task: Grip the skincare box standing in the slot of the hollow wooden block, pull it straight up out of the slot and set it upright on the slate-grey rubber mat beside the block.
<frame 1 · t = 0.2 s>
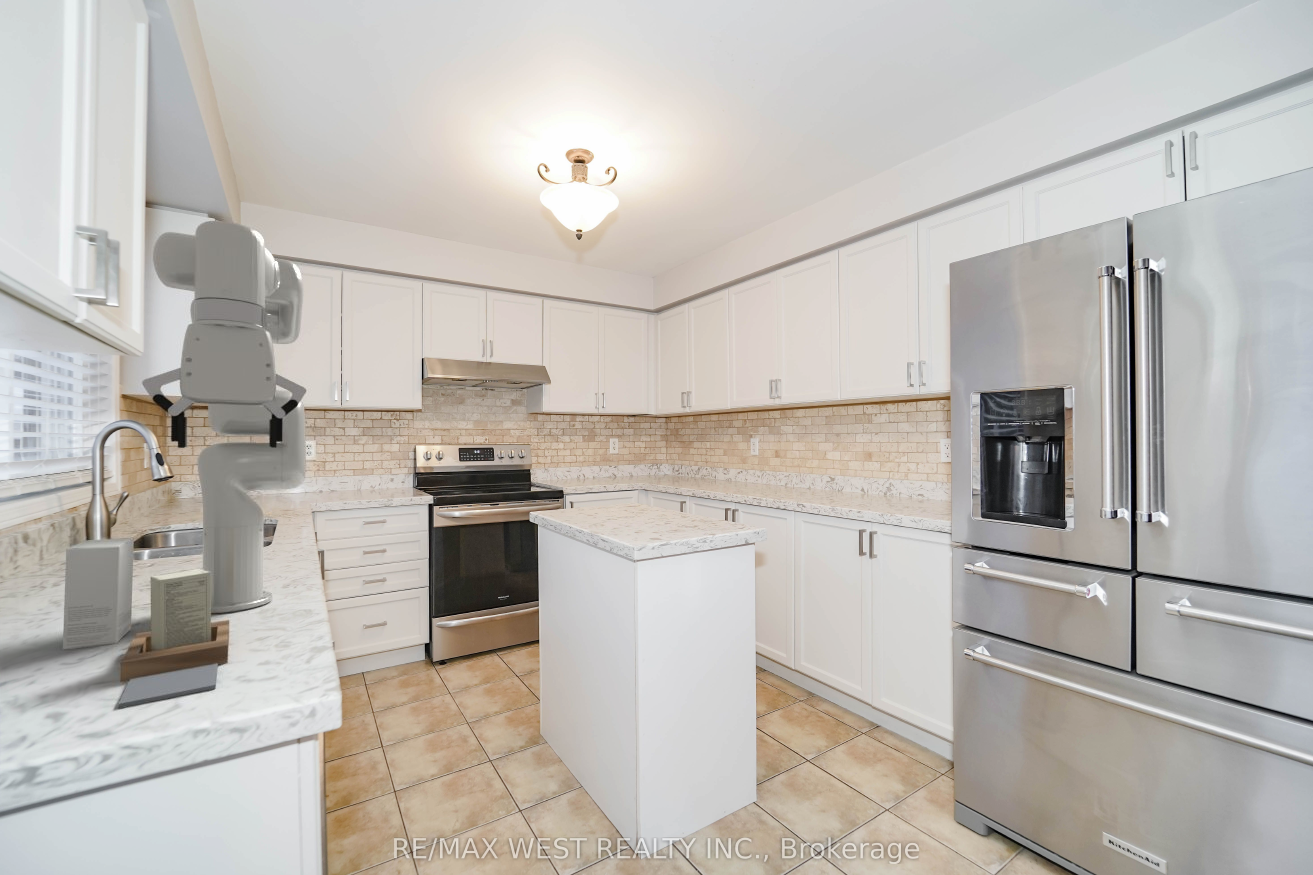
hand: (229, 447, 75), 31 cm above the countertop, tool pointing down, fingers open, 9 cm apart
skincare box: (180, 657, 83), resting in hollow wooden block
slate mat: (172, 685, 73), on the countertop
hollow wooden block: (180, 655, 83), on the countertop
skincare box 2: (100, 640, 91), on the countertop
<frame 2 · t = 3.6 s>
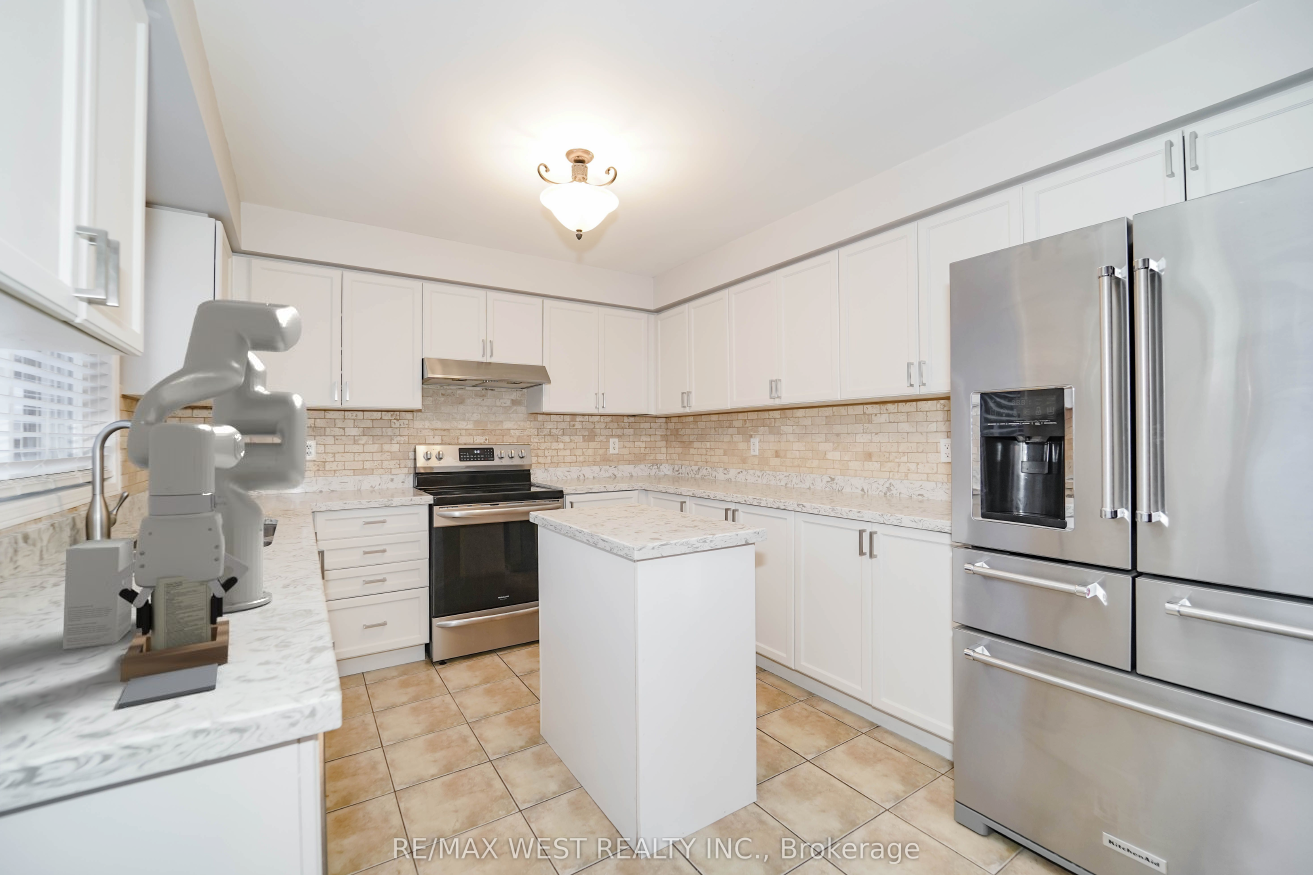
hand: (181, 626, 84), 4 cm above the countertop, tool pointing down, fingers closed on skincare box, 7 cm apart
skincare box: (180, 657, 83), resting in hollow wooden block, touching gripper
everything else where it was.
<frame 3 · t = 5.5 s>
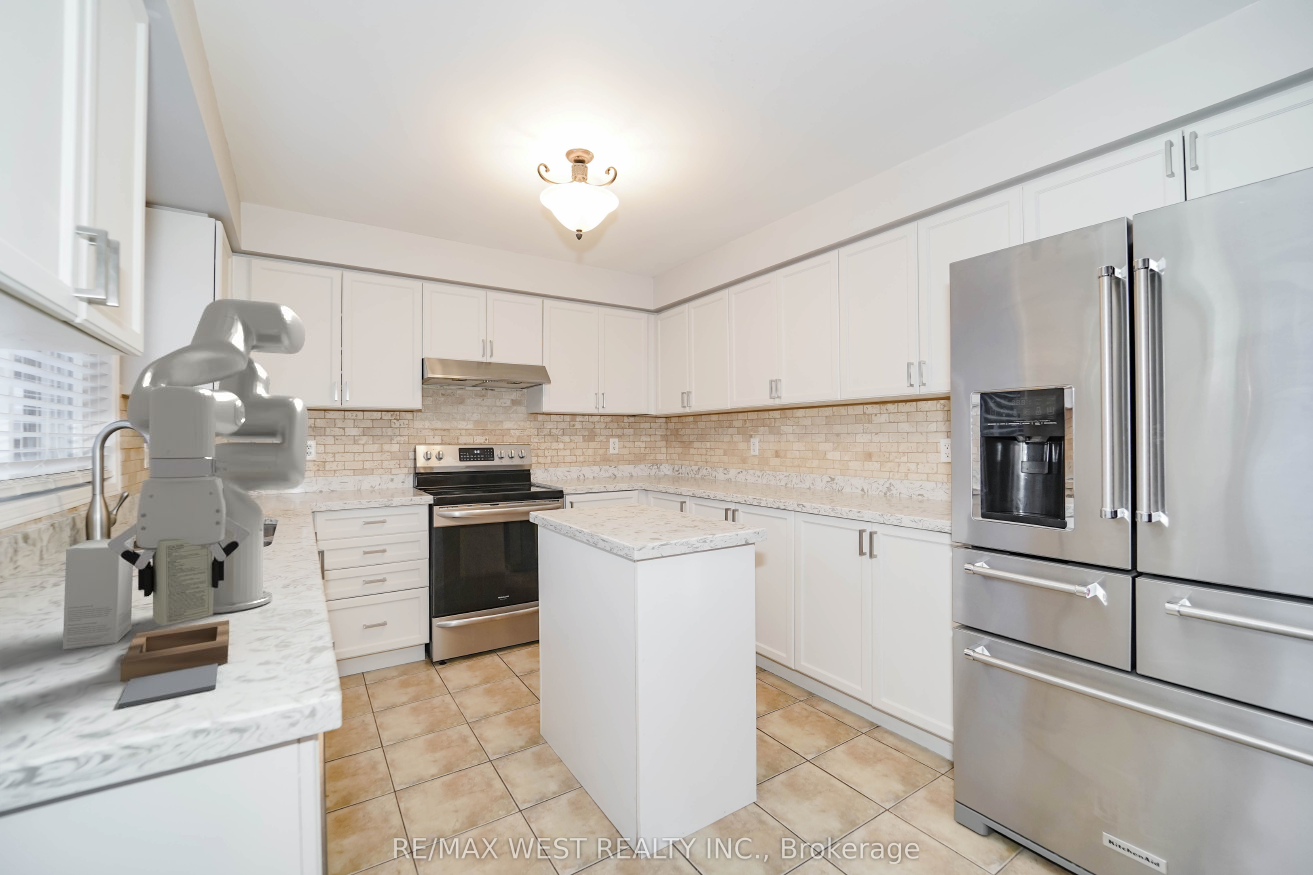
hand: (182, 589, 84), 10 cm above the countertop, tool pointing down, fingers closed on skincare box, 7 cm apart
skincare box: (182, 619, 84), point 5 cm above the countertop, touching gripper
everything else where it was.
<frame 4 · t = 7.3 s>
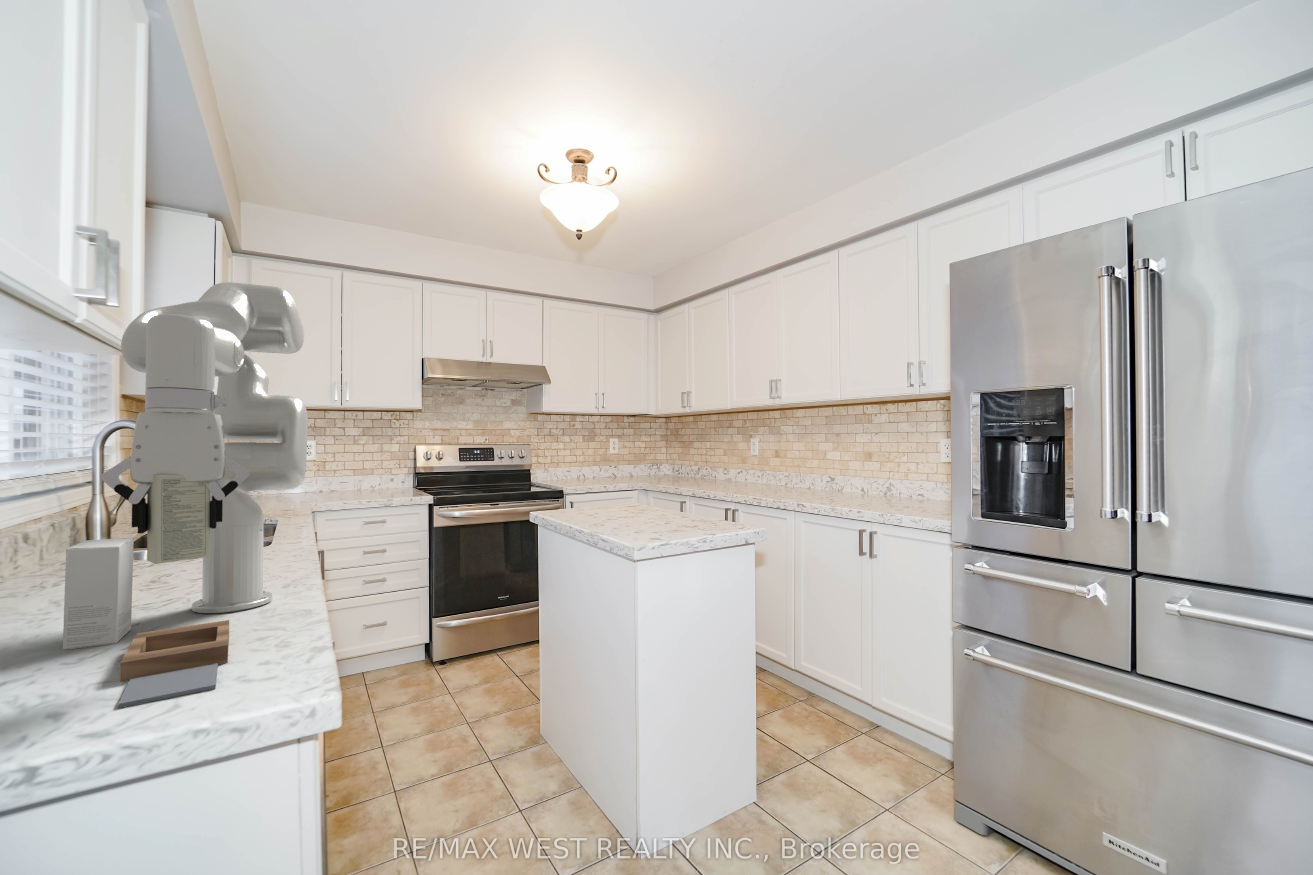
hand: (178, 528, 80), 19 cm above the countertop, tool pointing down, fingers closed on skincare box, 7 cm apart
skincare box: (178, 561, 80), point 15 cm above the countertop, touching gripper
everything else where it was.
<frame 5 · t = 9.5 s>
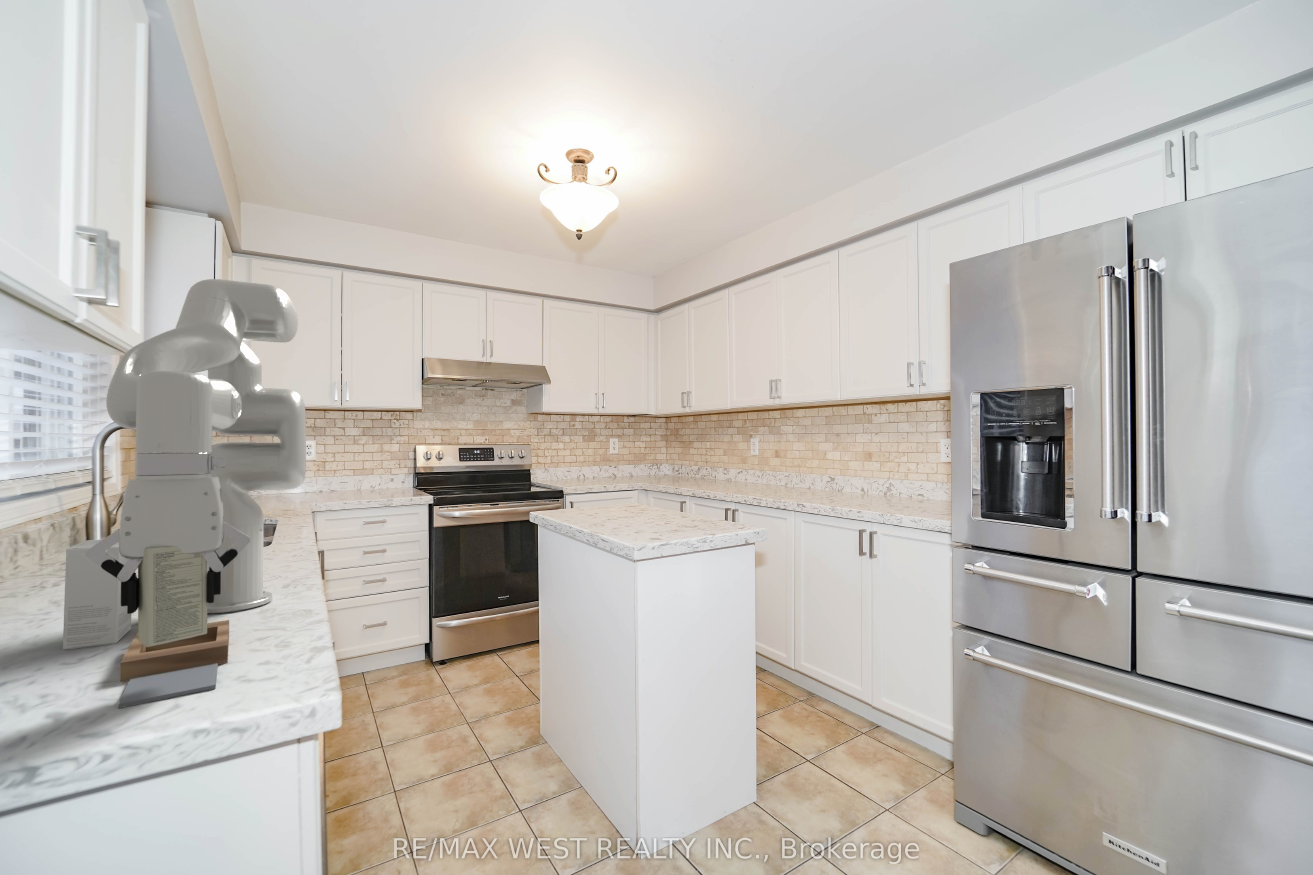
hand: (172, 604, 73), 10 cm above the countertop, tool pointing down, fingers closed on skincare box, 7 cm apart
skincare box: (172, 639, 73), point 6 cm above the countertop, touching gripper
everything else where it was.
when the fingers open (6 cm above the countertop, at t = 11.3 s): skincare box drops 1 cm, resting on slate mat.
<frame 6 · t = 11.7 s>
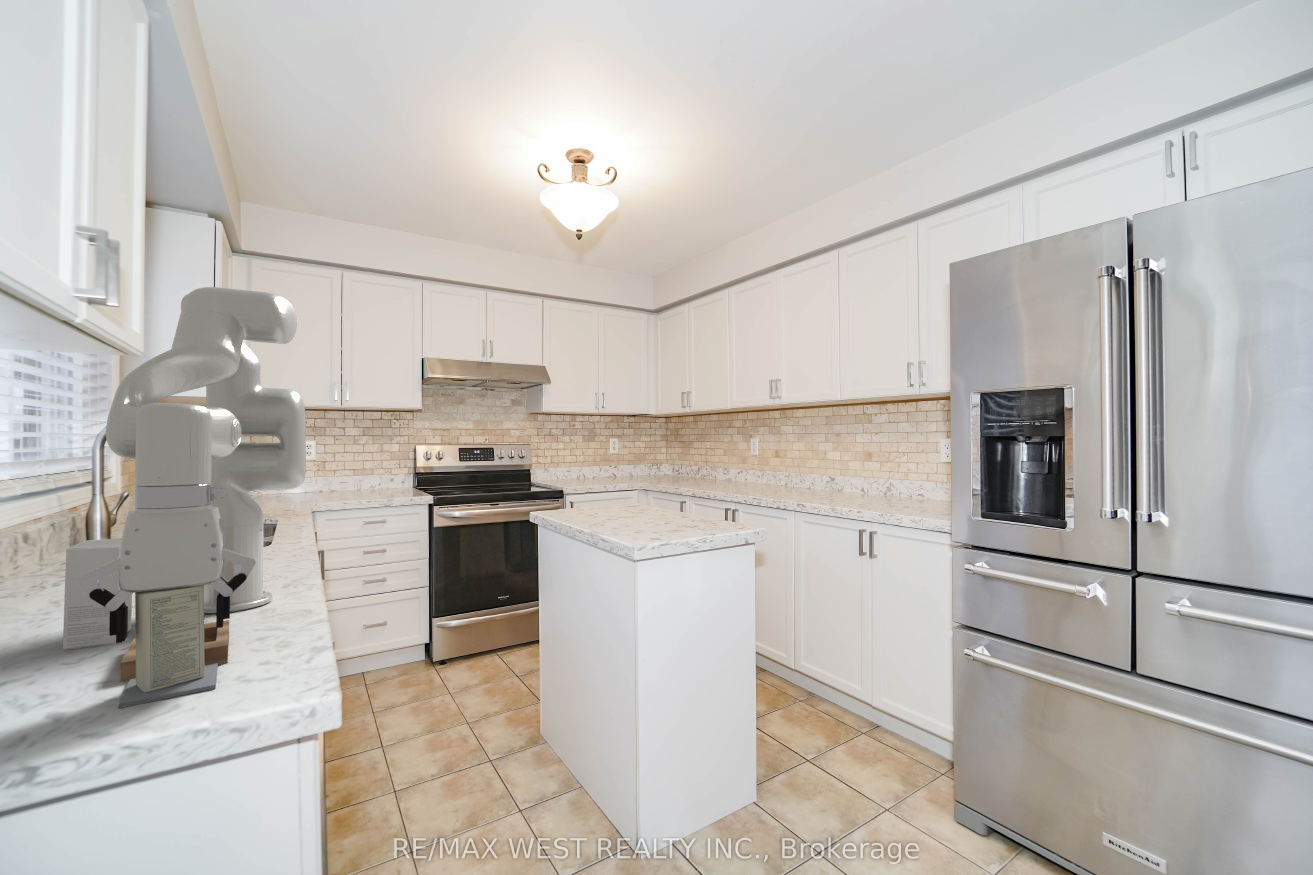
hand: (172, 632, 73), 7 cm above the countertop, tool pointing down, fingers open, 9 cm apart
skincare box: (169, 683, 73), resting on slate mat
everything else where it was.
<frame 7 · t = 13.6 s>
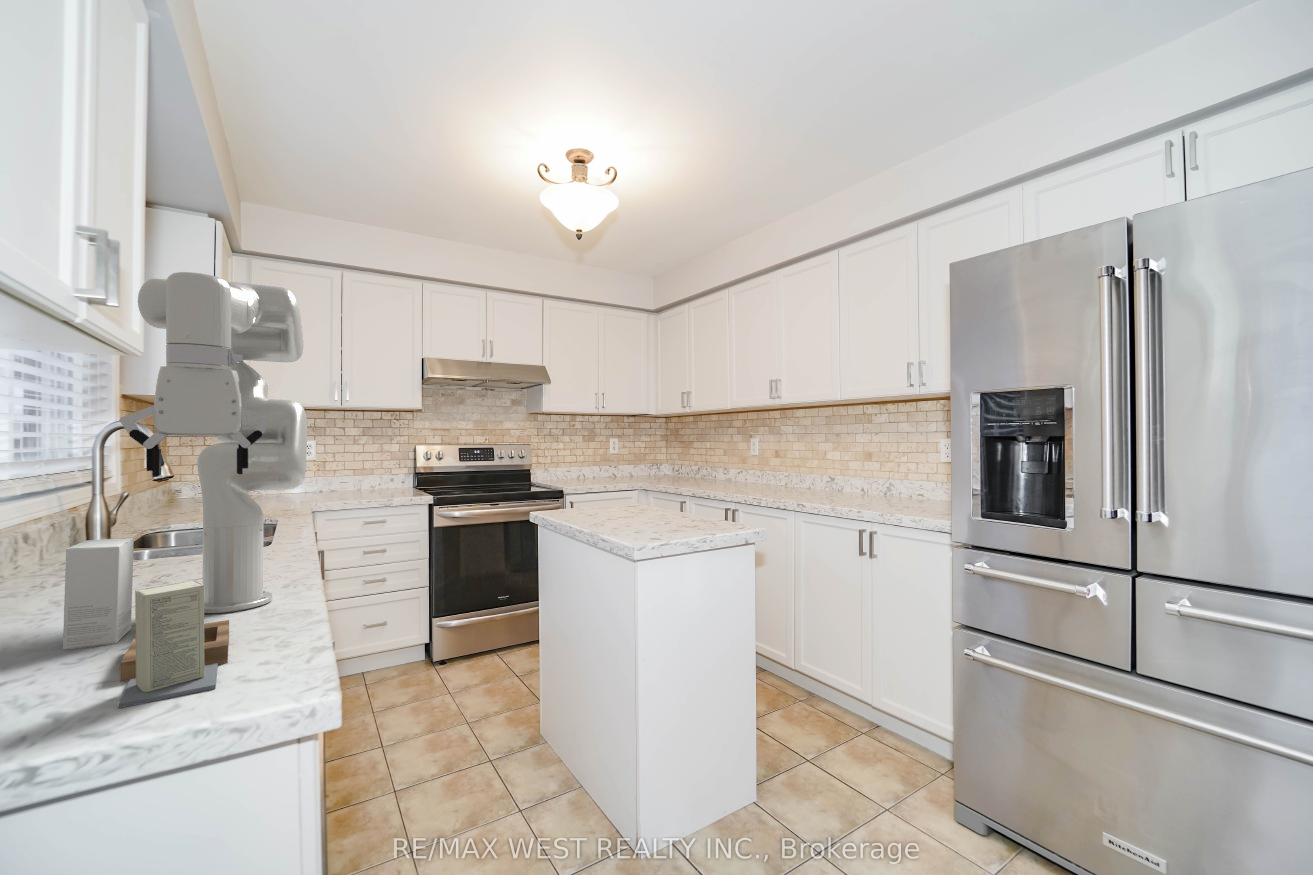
hand: (199, 474, 85), 27 cm above the countertop, tool pointing down, fingers open, 9 cm apart
nothing on the countertop moved.
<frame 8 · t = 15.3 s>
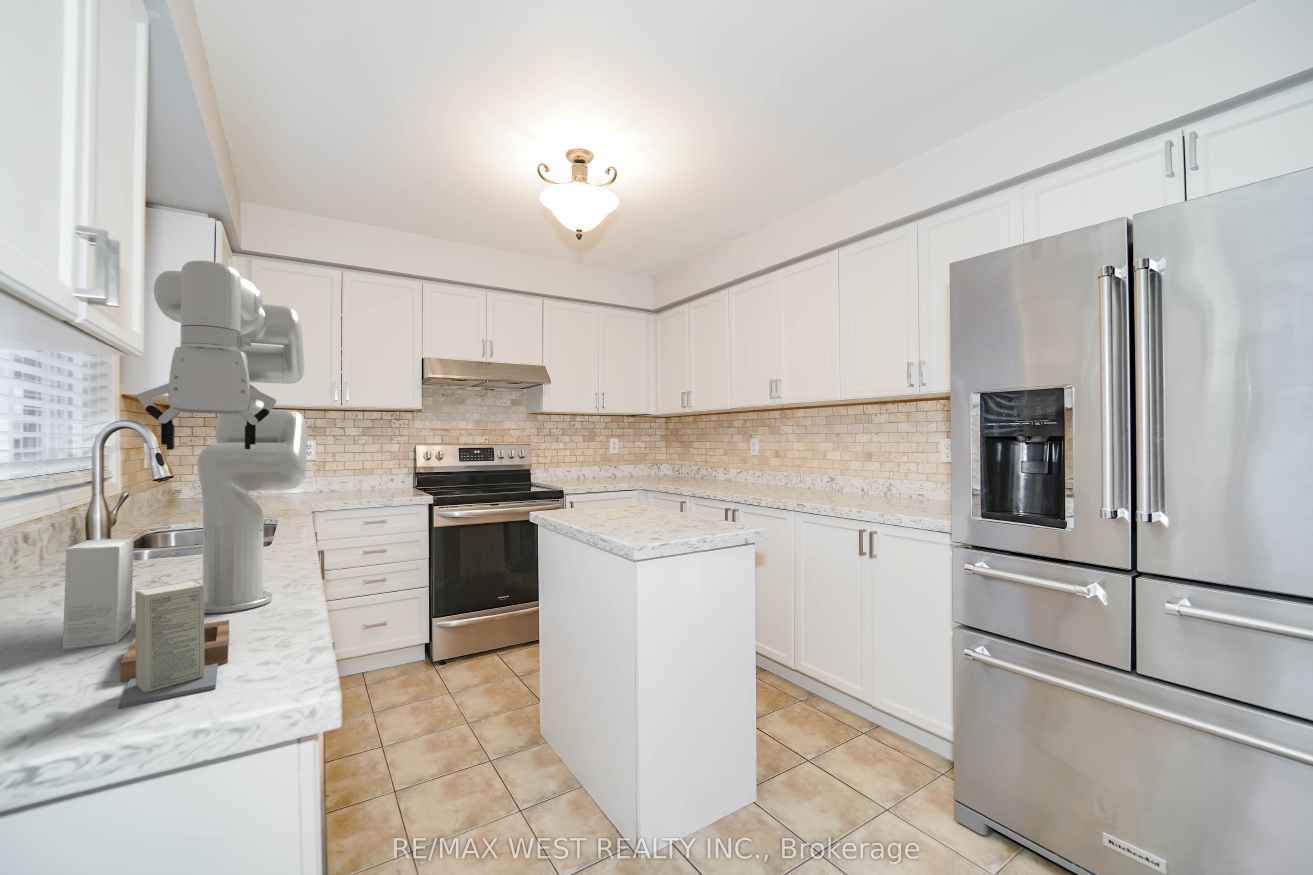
hand: (210, 449, 90), 30 cm above the countertop, tool pointing down, fingers open, 9 cm apart
nothing on the countertop moved.
at the end: skincare box 0.4 cm off-centre on the slate mat, point 0.3 cm above the slate mat's base; skincare box tilted 0°; the gripper is holding nothing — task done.
